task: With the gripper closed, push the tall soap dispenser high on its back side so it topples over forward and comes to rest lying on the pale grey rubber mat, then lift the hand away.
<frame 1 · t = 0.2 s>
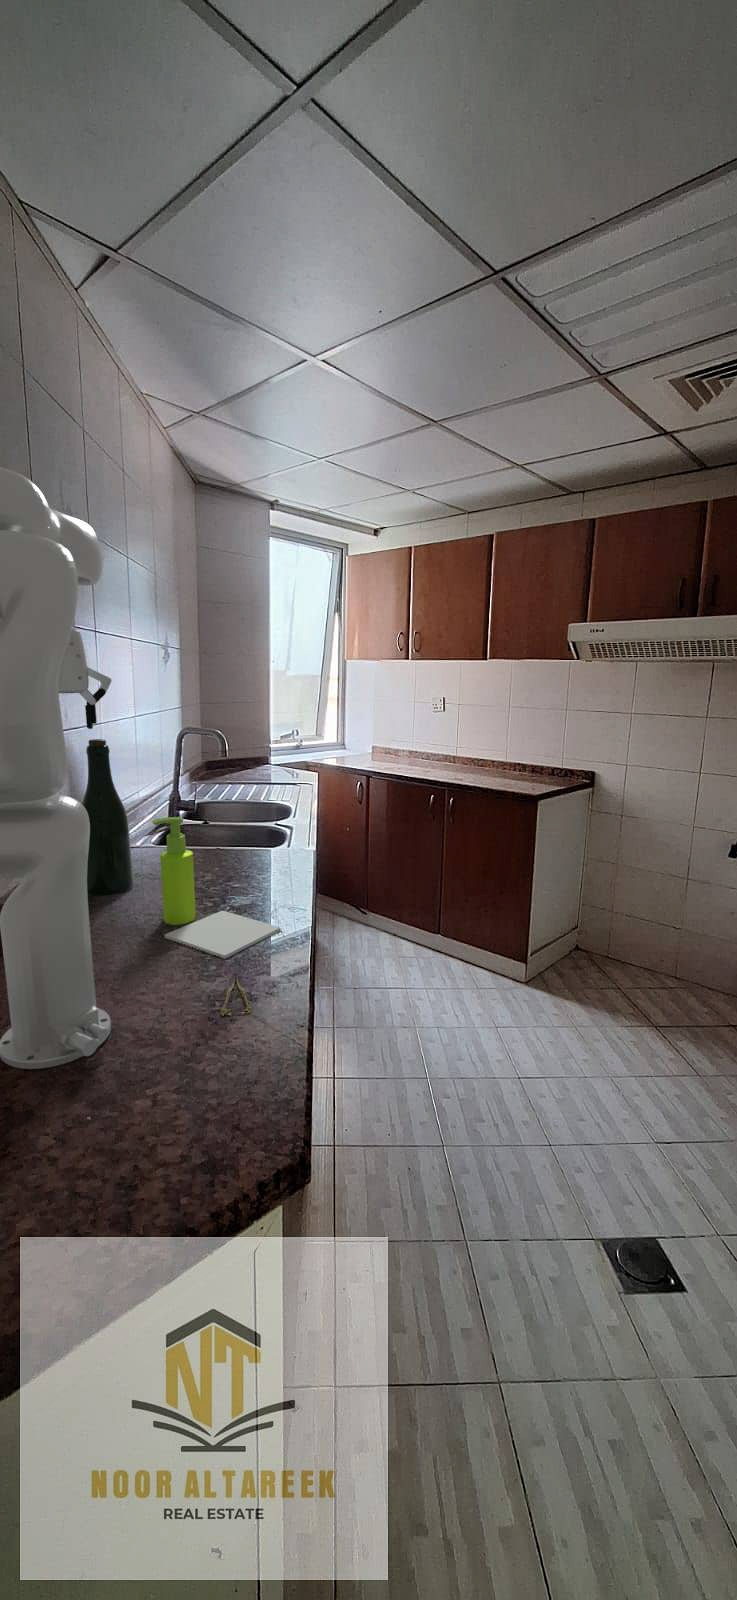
hand: (58, 728, 99), 37 cm above the countertop, tool pointing down, fingers open, 9 cm apart
soap dispenser: (177, 920, 115), on the countertop
tongs: (233, 999, 87), on the countertop
grey mat: (223, 934, 108), on the countertop
green wine bottle: (108, 890, 131), on the countertop
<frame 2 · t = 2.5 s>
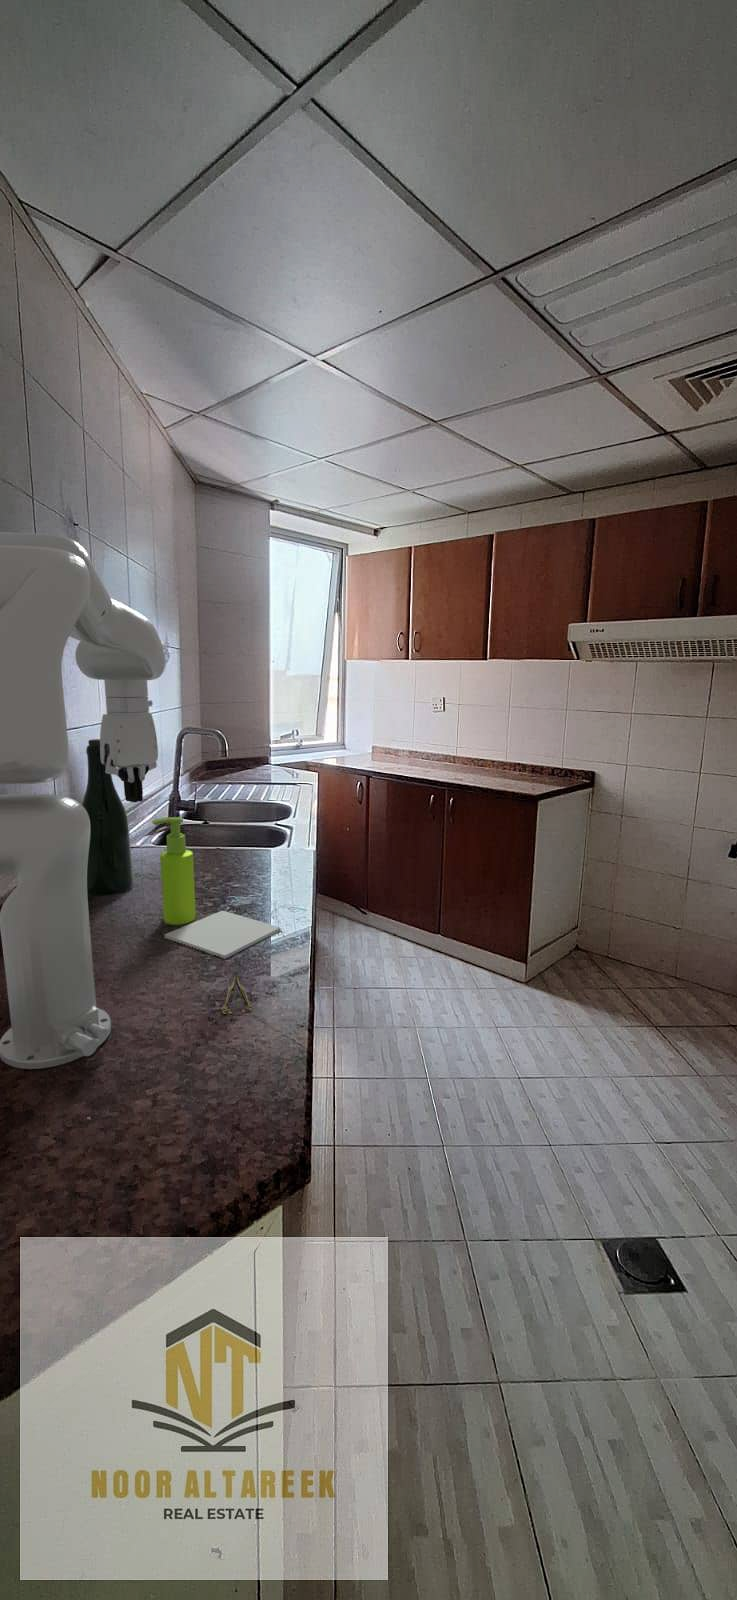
hand: (134, 800, 117), 22 cm above the countertop, tool pointing down, fingers closed
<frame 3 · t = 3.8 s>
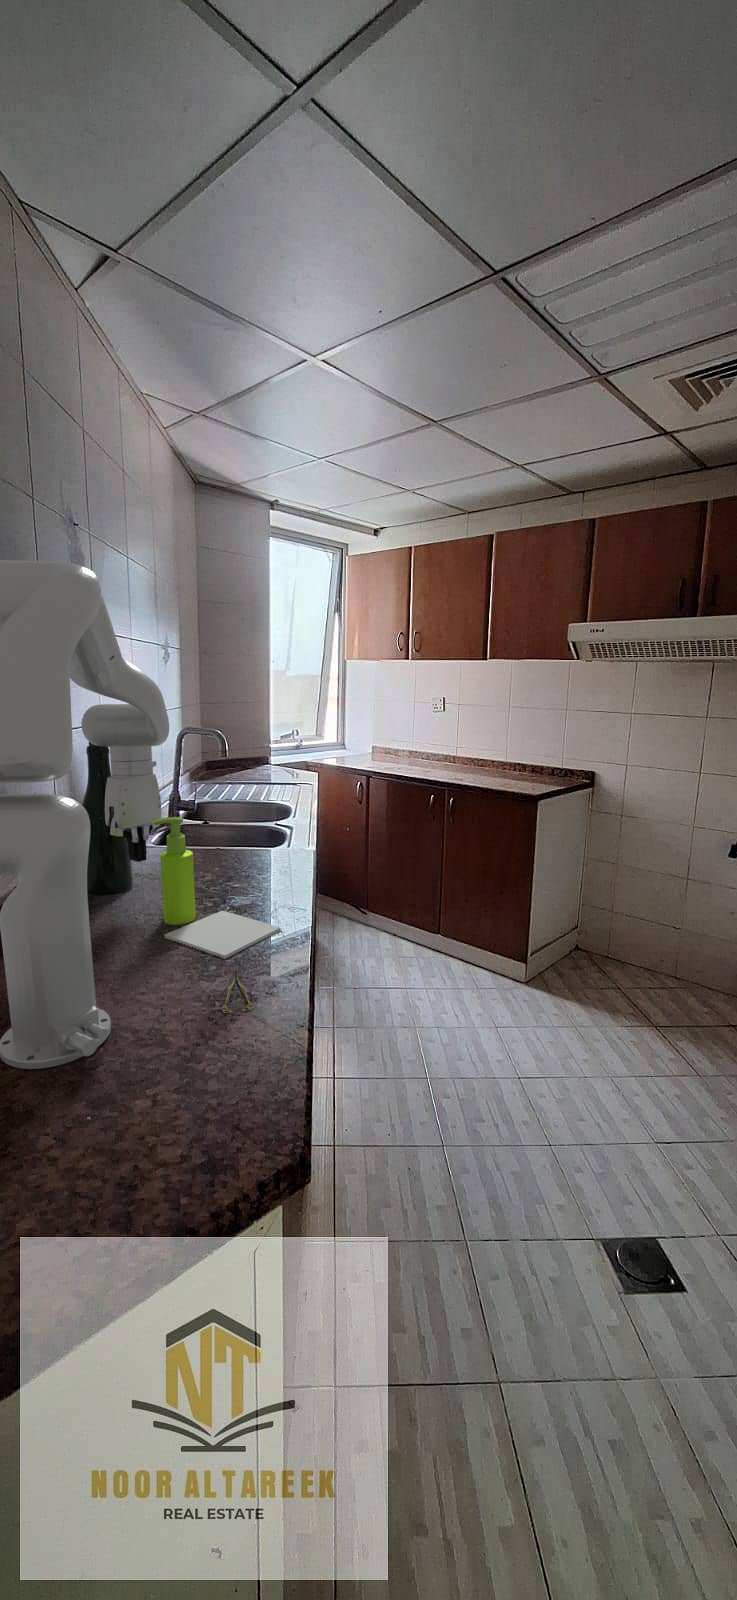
hand: (138, 859, 118), 10 cm above the countertop, tool pointing down, fingers closed
nothing on the countertop moved.
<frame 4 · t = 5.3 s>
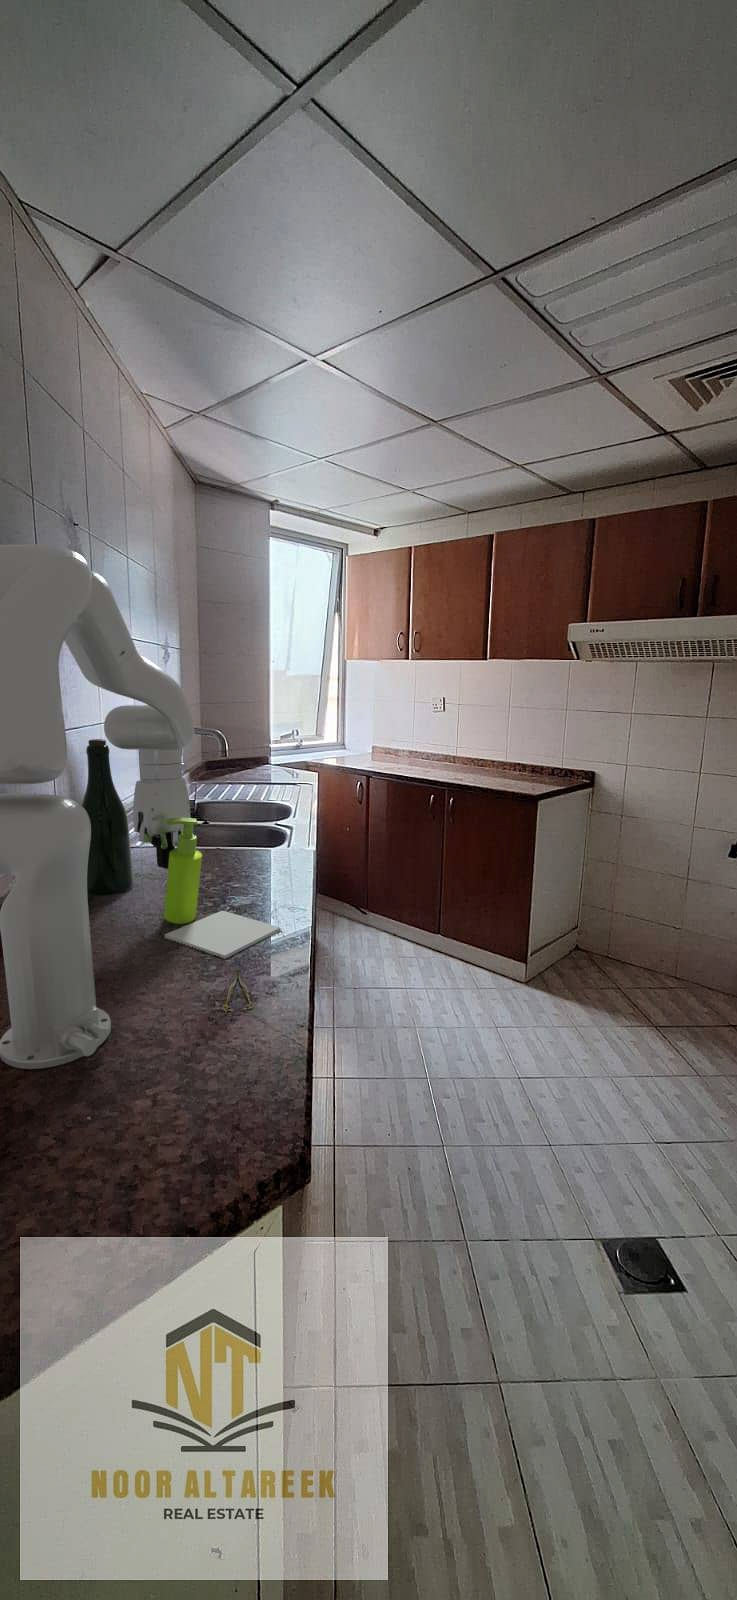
hand: (166, 866, 114), 10 cm above the countertop, tool pointing down, fingers closed
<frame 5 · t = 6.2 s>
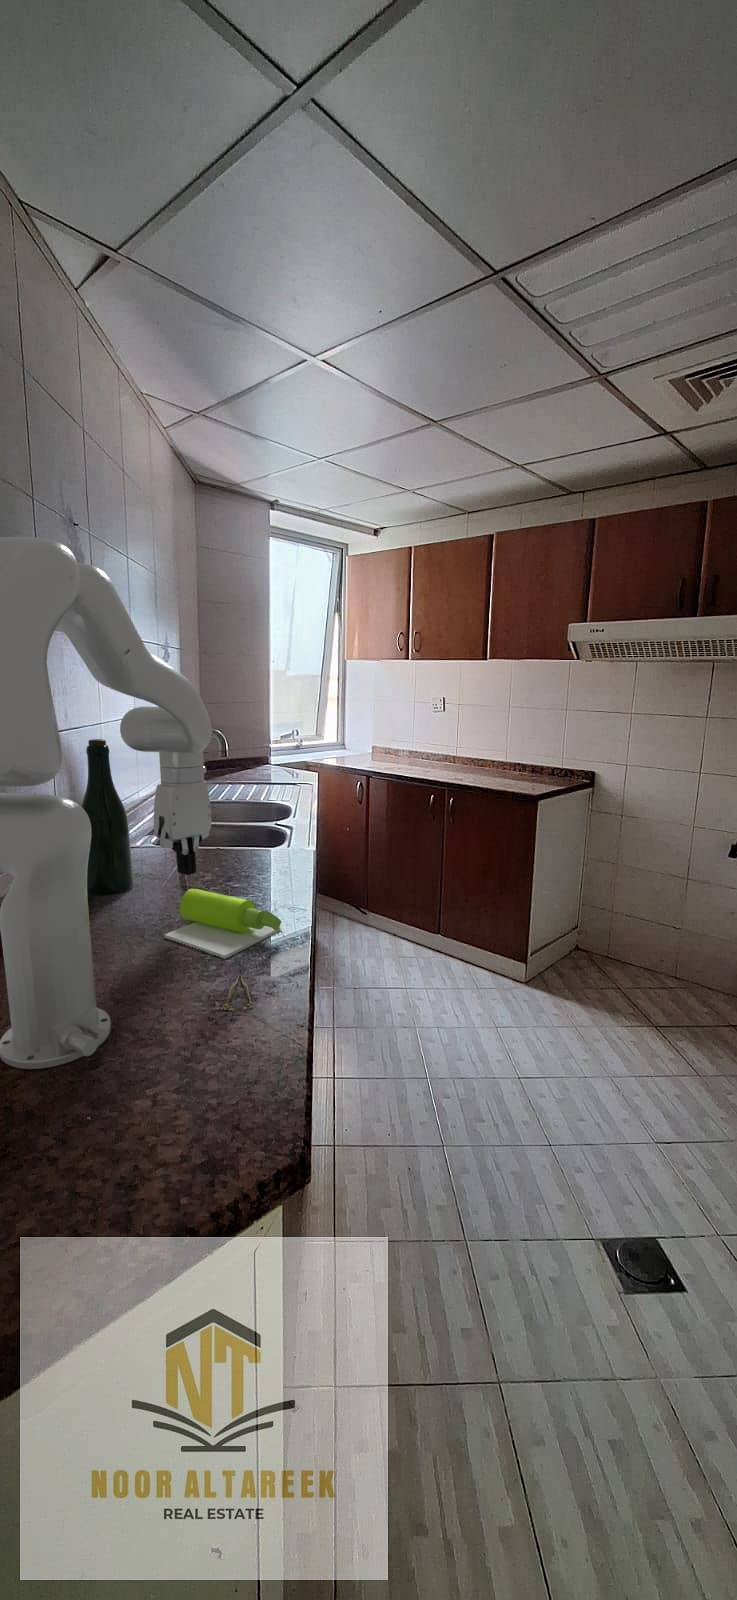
hand: (186, 872, 111), 10 cm above the countertop, tool pointing down, fingers closed
soap dispenser: (188, 902, 113), point 4 cm above the countertop, touching grey mat
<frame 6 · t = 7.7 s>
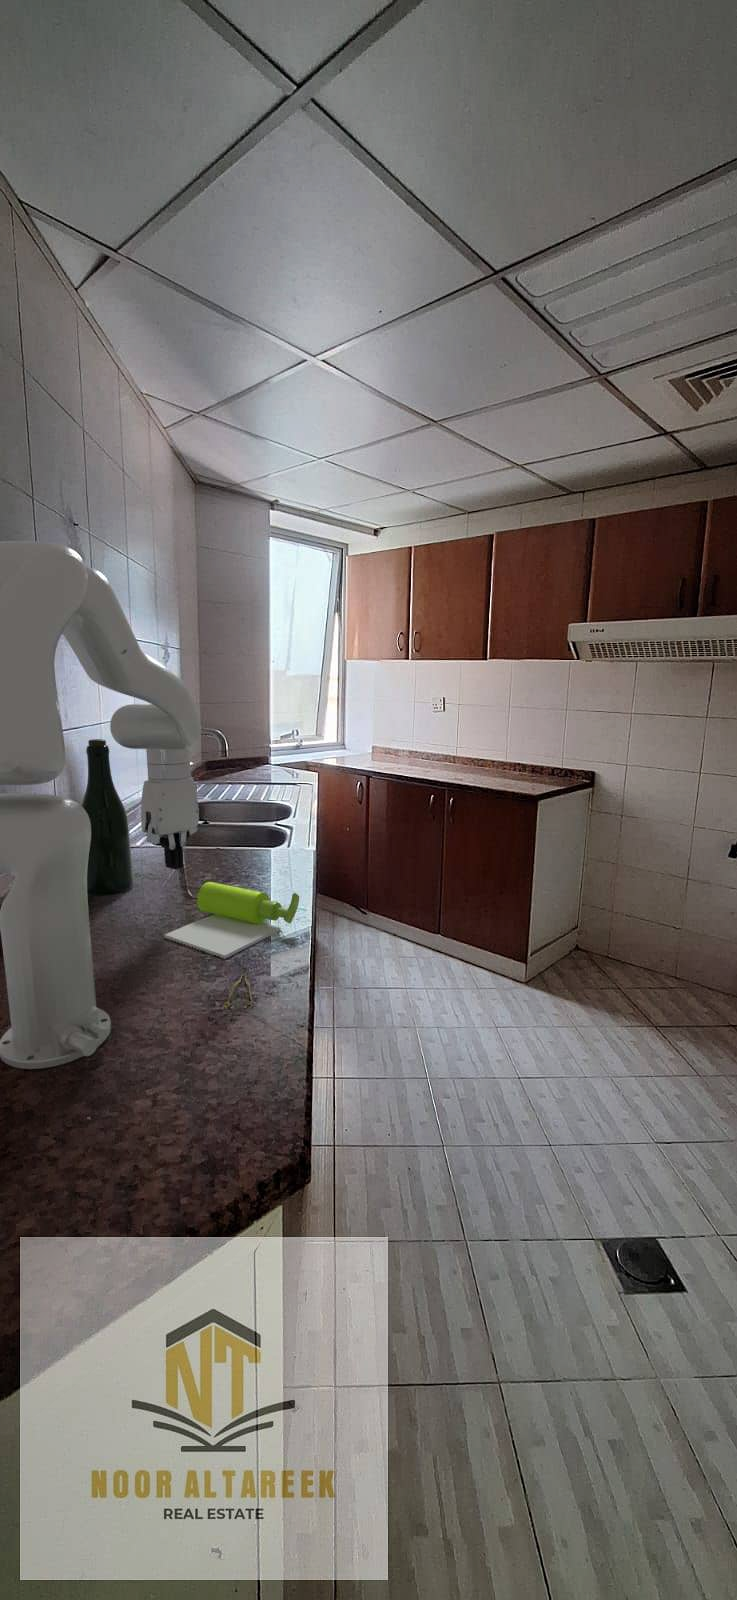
hand: (174, 867, 113), 10 cm above the countertop, tool pointing down, fingers closed
soap dispenser: (207, 893, 117), point 4 cm above the countertop, touching grey mat
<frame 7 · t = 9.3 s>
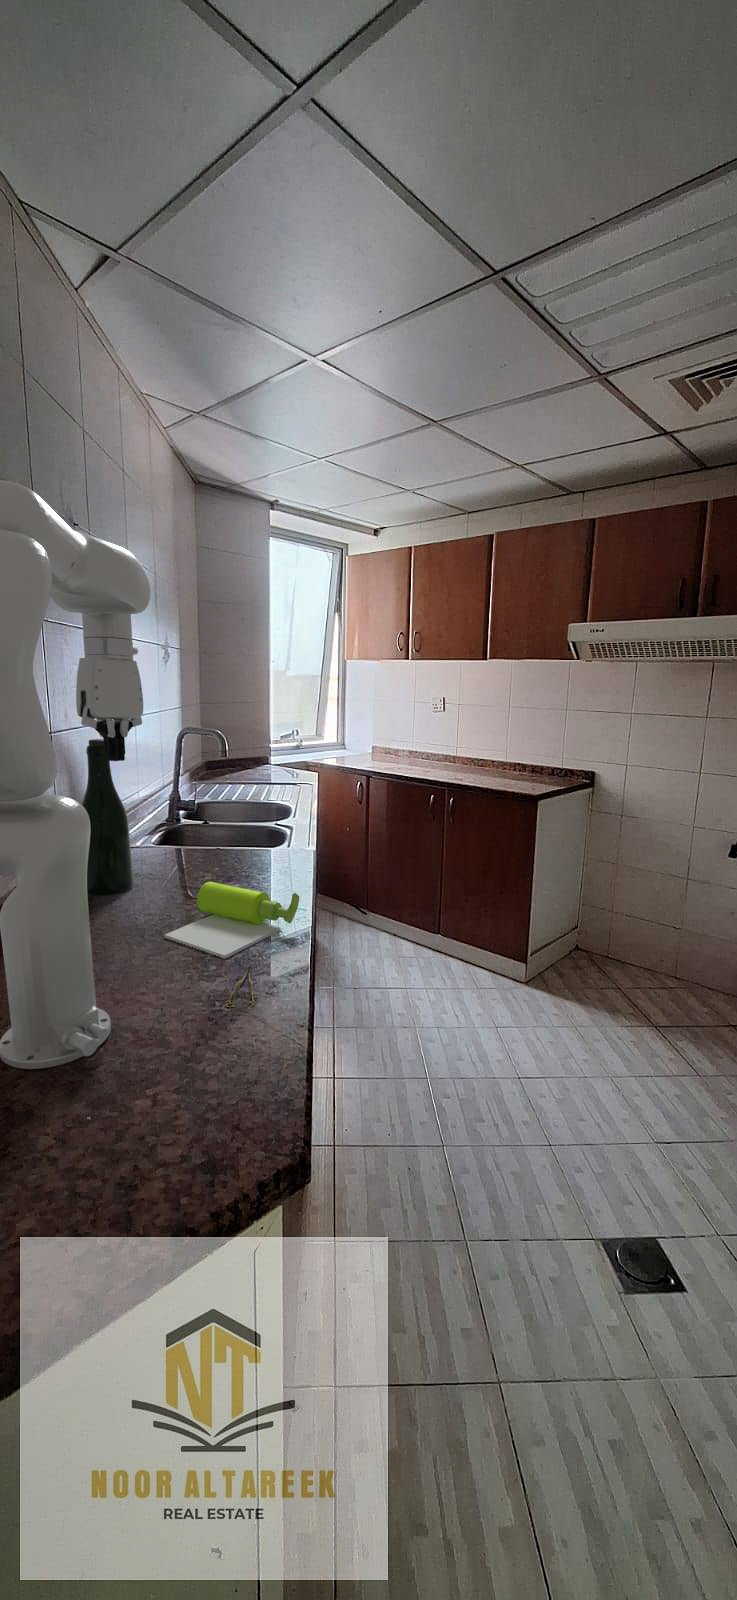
hand: (115, 760, 102), 32 cm above the countertop, tool pointing down, fingers closed
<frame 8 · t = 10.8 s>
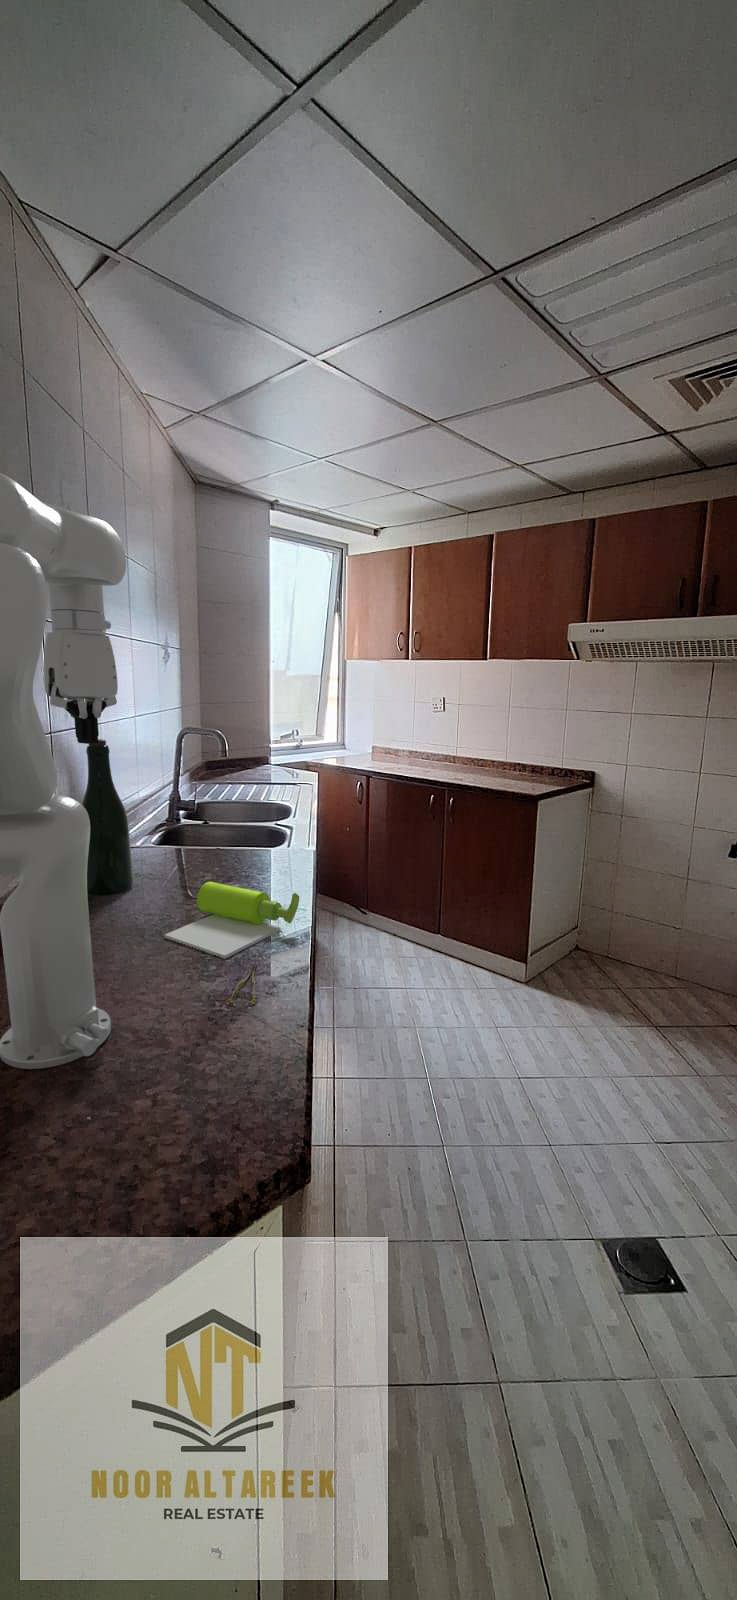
hand: (87, 742, 96), 35 cm above the countertop, tool pointing down, fingers closed
at the end: soap dispenser tilted 90°; soap dispenser touching grey mat; soap dispenser inside the target area (5.9 cm from its centre), point 3.9 cm above the countertop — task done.
